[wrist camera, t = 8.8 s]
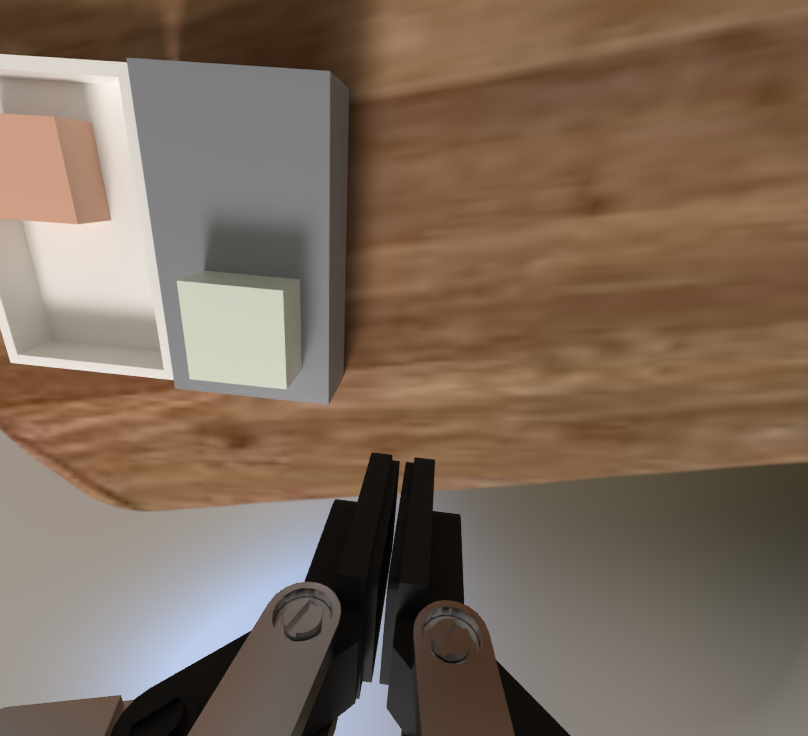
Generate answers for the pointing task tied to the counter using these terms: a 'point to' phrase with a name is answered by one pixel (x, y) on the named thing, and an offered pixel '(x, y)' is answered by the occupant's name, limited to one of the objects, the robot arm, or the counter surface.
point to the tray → (83, 237)
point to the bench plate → (249, 196)
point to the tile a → (50, 171)
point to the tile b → (241, 328)
